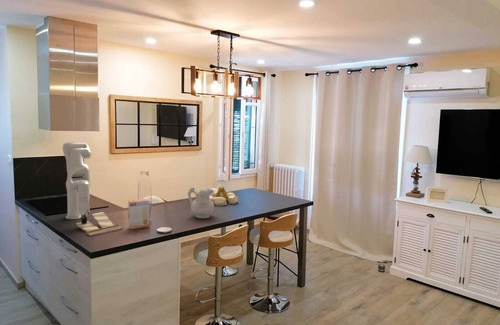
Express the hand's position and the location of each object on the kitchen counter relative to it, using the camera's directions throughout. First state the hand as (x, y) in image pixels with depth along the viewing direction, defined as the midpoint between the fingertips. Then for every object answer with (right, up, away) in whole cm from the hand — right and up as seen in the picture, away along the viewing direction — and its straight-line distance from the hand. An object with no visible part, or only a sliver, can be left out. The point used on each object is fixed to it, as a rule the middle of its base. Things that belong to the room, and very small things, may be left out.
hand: (84, 223), depth 270 cm
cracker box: (+39, -4, +5) cm, 39 cm away
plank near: (+4, -3, -3) cm, 6 cm away
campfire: (+92, +5, +98) cm, 135 cm away
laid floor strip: (+18, -5, -8) cm, 20 cm away
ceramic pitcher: (+80, -1, +42) cm, 91 cm away
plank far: (+12, +1, +4) cm, 13 cm away
